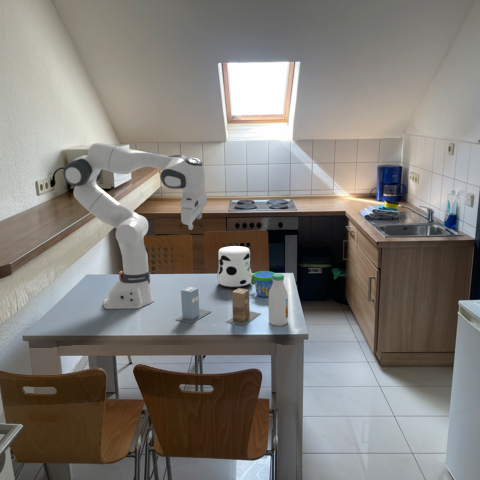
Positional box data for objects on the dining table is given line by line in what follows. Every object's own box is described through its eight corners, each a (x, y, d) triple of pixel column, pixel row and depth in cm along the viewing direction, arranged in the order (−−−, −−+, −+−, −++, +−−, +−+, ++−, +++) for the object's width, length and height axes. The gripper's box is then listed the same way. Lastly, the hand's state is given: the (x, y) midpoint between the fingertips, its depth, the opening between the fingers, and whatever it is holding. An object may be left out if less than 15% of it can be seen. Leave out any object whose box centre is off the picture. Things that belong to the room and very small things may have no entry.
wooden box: (243, 322, 190) (243, 293, 187) (232, 319, 193) (232, 291, 190) (250, 317, 194) (249, 289, 191) (239, 315, 197) (238, 287, 194)
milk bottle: (282, 327, 185) (282, 279, 180) (265, 323, 189) (264, 276, 184) (291, 320, 191) (291, 273, 187) (274, 317, 195) (274, 270, 191)
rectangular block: (192, 319, 193) (191, 291, 190) (182, 317, 196) (180, 289, 193) (199, 315, 197) (198, 288, 195) (189, 313, 200) (188, 286, 197)
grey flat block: (191, 323, 191) (191, 323, 191) (175, 320, 195) (175, 319, 195) (211, 312, 202) (211, 311, 202) (196, 308, 206) (196, 308, 206)
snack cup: (284, 296, 218) (284, 275, 216) (267, 302, 212) (267, 280, 210) (262, 288, 230) (262, 268, 228) (245, 293, 224) (245, 272, 222)
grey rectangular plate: (243, 326, 187) (243, 325, 187) (226, 322, 191) (226, 321, 191) (260, 314, 199) (260, 313, 199) (244, 310, 203) (244, 309, 203)
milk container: (259, 284, 236) (259, 249, 232) (234, 293, 225) (233, 256, 220) (235, 277, 248) (235, 243, 244) (210, 285, 237) (209, 250, 233)
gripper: (196, 184, 209) (197, 211, 217) (177, 204, 193) (179, 233, 200) (210, 186, 208) (210, 213, 215) (192, 207, 191) (192, 236, 199)
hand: (195, 223), depth 208 cm, fingers open, 8 cm apart
